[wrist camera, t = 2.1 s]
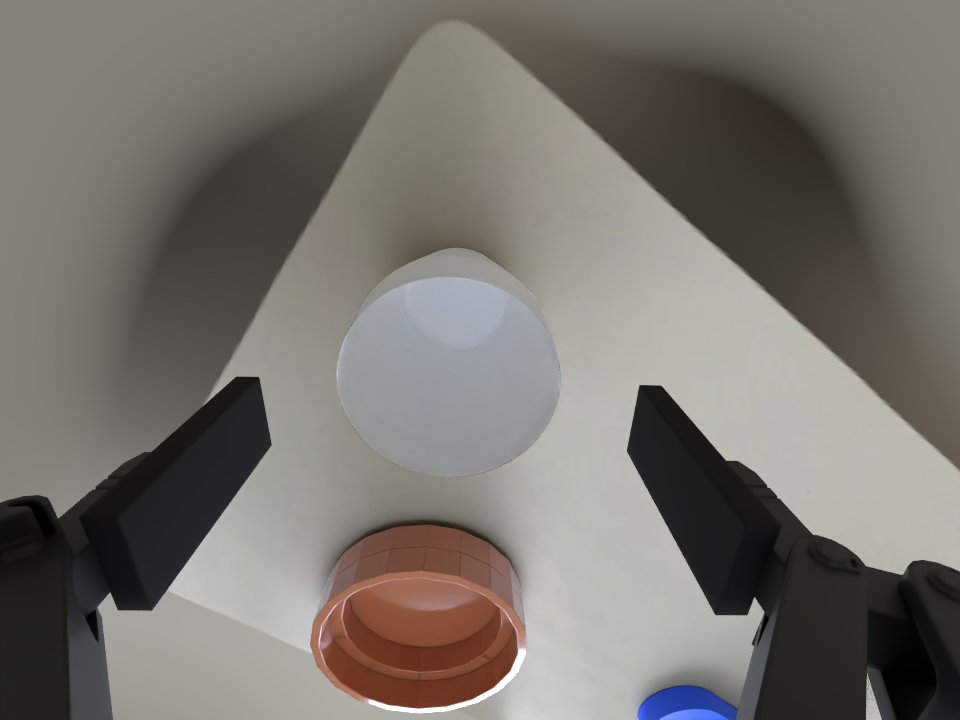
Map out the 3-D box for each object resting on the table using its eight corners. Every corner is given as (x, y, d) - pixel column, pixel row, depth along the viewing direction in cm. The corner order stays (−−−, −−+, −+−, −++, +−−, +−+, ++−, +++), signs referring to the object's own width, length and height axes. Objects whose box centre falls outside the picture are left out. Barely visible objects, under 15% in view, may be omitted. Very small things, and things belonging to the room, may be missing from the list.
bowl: (299, 615, 40) (277, 674, 35) (383, 488, 34) (370, 538, 30) (458, 673, 43) (457, 733, 39) (556, 567, 38) (568, 622, 33)
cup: (554, 317, 29) (606, 411, 18) (441, 388, 31) (426, 512, 20) (475, 195, 26) (479, 218, 15) (355, 282, 28) (281, 360, 17)
